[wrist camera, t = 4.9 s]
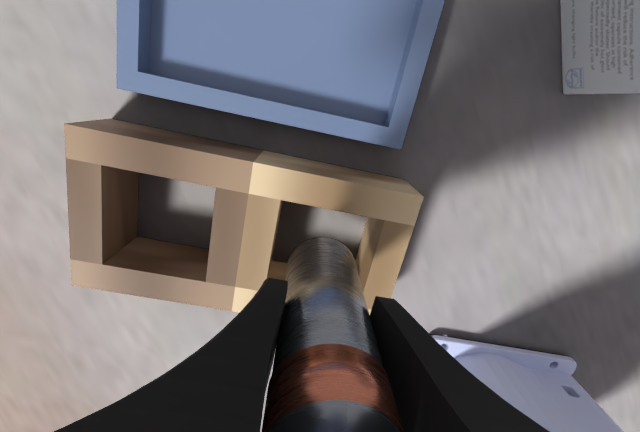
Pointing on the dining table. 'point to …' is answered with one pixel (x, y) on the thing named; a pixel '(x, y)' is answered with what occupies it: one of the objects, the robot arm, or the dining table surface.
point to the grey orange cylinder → (327, 350)
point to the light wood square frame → (335, 194)
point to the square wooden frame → (122, 211)
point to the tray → (284, 59)
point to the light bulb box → (600, 46)
